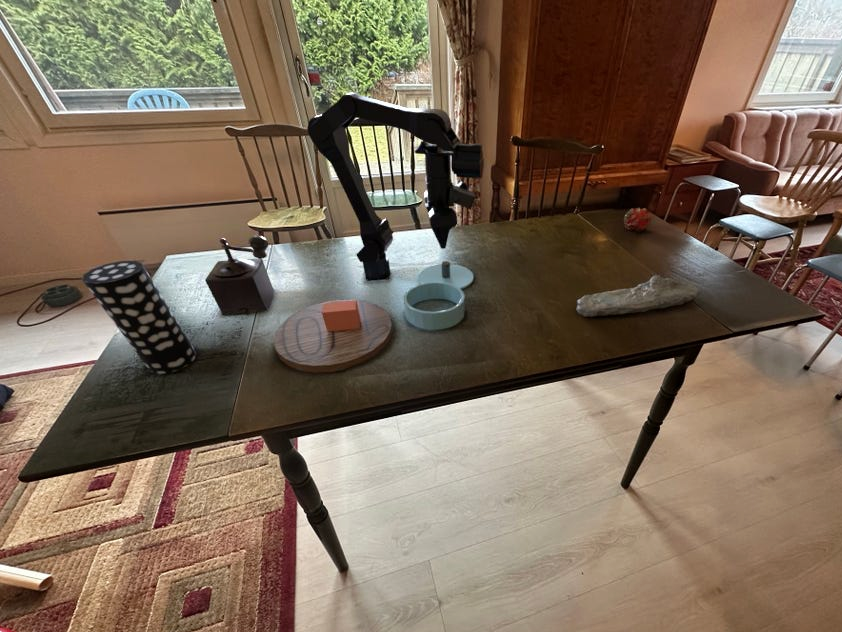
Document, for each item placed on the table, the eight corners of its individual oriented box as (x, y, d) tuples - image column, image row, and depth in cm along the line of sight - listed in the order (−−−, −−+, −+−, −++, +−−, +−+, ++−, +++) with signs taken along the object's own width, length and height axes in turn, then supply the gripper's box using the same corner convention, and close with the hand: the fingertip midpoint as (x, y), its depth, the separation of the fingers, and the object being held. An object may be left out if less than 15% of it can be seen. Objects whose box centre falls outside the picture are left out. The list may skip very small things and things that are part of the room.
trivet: (376, 297, 97) (375, 291, 96) (407, 352, 80) (406, 345, 79) (271, 320, 88) (269, 313, 87) (282, 387, 71) (278, 380, 70)
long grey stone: (566, 307, 98) (584, 330, 91) (569, 290, 94) (589, 312, 88) (679, 284, 105) (704, 303, 98) (686, 267, 101) (712, 286, 95)
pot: (407, 334, 85) (405, 316, 82) (404, 301, 96) (402, 284, 93) (469, 328, 88) (469, 310, 85) (459, 296, 98) (459, 279, 95)
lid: (421, 295, 98) (419, 278, 95) (416, 269, 110) (415, 252, 107) (478, 291, 101) (478, 273, 98) (468, 265, 112) (468, 249, 109)
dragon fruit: (617, 235, 137) (641, 235, 142) (635, 228, 129) (660, 228, 134) (616, 211, 137) (640, 212, 141) (634, 203, 129) (659, 204, 134)
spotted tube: (163, 348, 80) (103, 261, 67) (204, 347, 80) (153, 260, 67) (139, 374, 73) (68, 283, 60) (184, 373, 74) (123, 282, 61)
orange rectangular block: (327, 331, 82) (321, 312, 79) (329, 321, 85) (323, 302, 82) (360, 328, 83) (355, 309, 80) (360, 318, 86) (356, 300, 83)
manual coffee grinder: (220, 317, 89) (182, 244, 77) (232, 294, 97) (199, 225, 85) (289, 310, 92) (263, 239, 80) (295, 288, 100) (272, 221, 88)
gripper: (479, 186, 80) (478, 254, 90) (466, 164, 94) (466, 226, 104) (428, 187, 79) (432, 257, 89) (421, 165, 93) (426, 228, 103)
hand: (441, 240), depth 96 cm, fingers open, 9 cm apart
